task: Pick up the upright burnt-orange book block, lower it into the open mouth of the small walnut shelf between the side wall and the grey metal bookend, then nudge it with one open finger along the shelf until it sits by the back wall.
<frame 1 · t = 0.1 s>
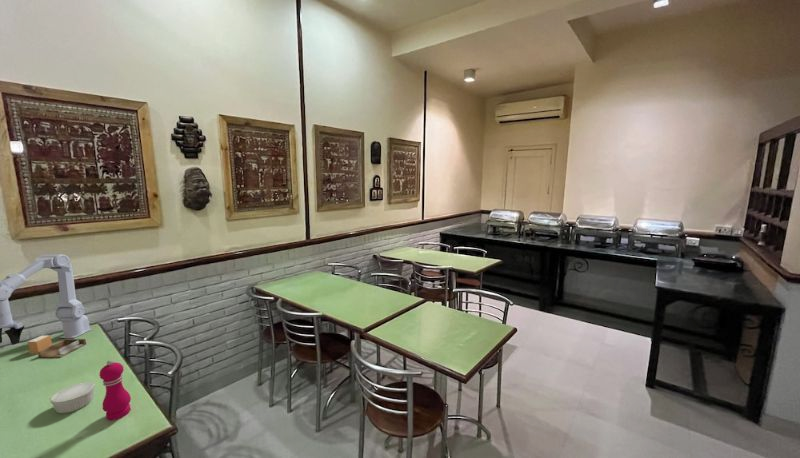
hand: (7, 343, 138), 10 cm above the table, fingers open, 7 cm apart
book: (41, 350, 152), on the table
ramekin: (75, 405, 115), on the table
pepper mill: (119, 414, 110), on the table
shelf: (63, 350, 151), on the table
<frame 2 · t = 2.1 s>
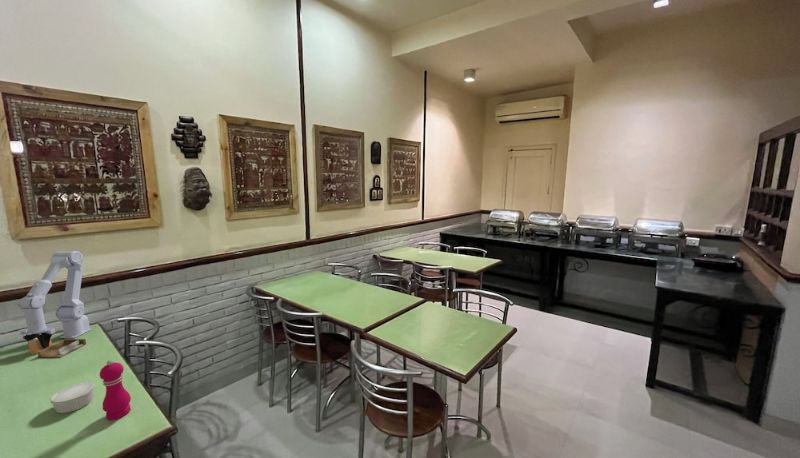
hand: (41, 347, 151), 1 cm above the table, fingers closed on book, 4 cm apart
book: (41, 350, 152), on the table, touching gripper
everything else where it was.
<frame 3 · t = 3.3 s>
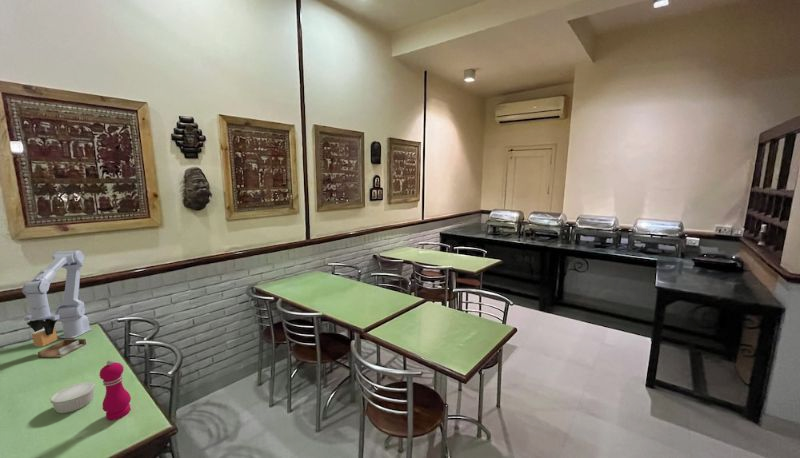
hand: (45, 334, 149), 9 cm above the table, fingers closed on book, 4 cm apart
book: (46, 342, 149), point 5 cm above the table, touching gripper
everything else where it was.
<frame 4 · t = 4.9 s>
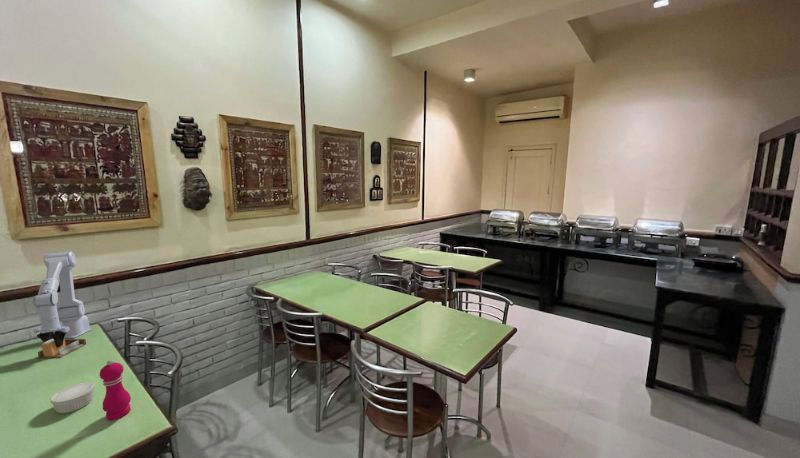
hand: (54, 346, 148), 4 cm above the table, fingers closed on book, 4 cm apart
book: (55, 352, 148), point 1 cm above the table, touching gripper, shelf
everything else where it was.
when the fingers open (4 cm above the table, at t = 5.1 s): book stays where it is, resting on shelf.
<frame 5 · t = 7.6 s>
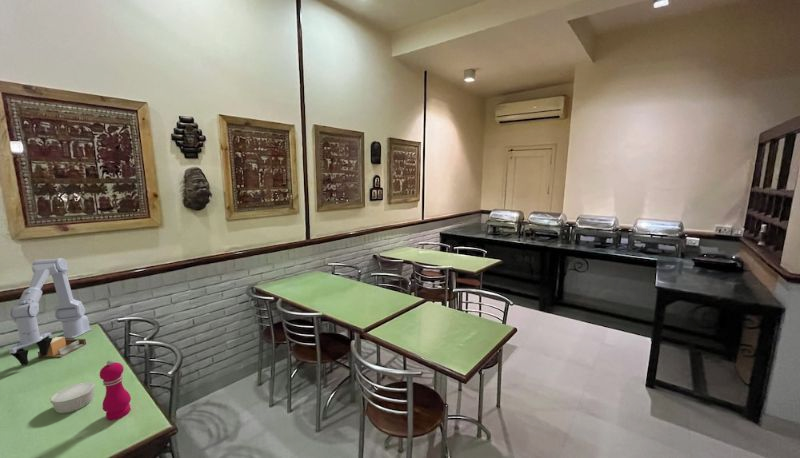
hand: (34, 359, 140), 2 cm above the table, fingers open, 7 cm apart
book: (56, 352, 149), point 1 cm above the table, touching gripper, shelf
everything else where it was.
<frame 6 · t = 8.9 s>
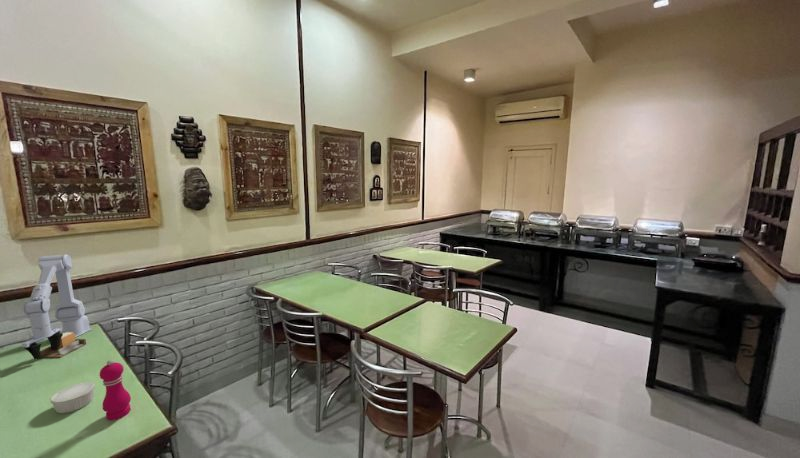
hand: (46, 354, 145), 2 cm above the table, fingers open, 7 cm apart
book: (66, 347, 153), point 1 cm above the table, touching gripper, shelf
everything else where it was.
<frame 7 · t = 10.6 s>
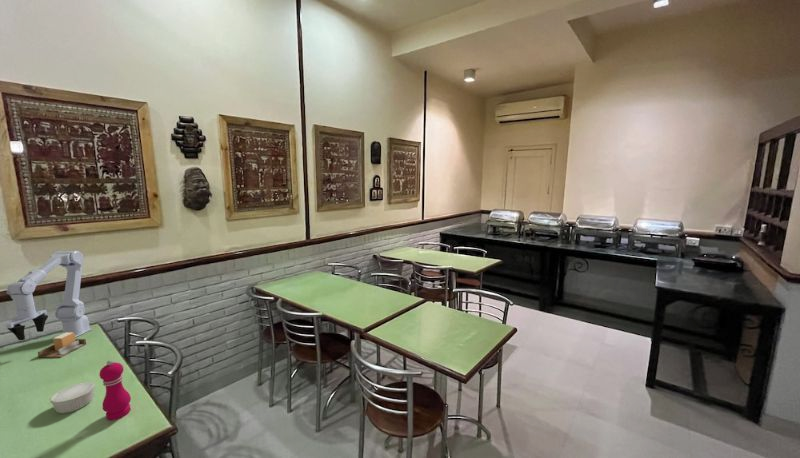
hand: (31, 335, 146), 10 cm above the table, fingers open, 7 cm apart
book: (66, 347, 153), point 1 cm above the table, touching shelf
everything else where it was.
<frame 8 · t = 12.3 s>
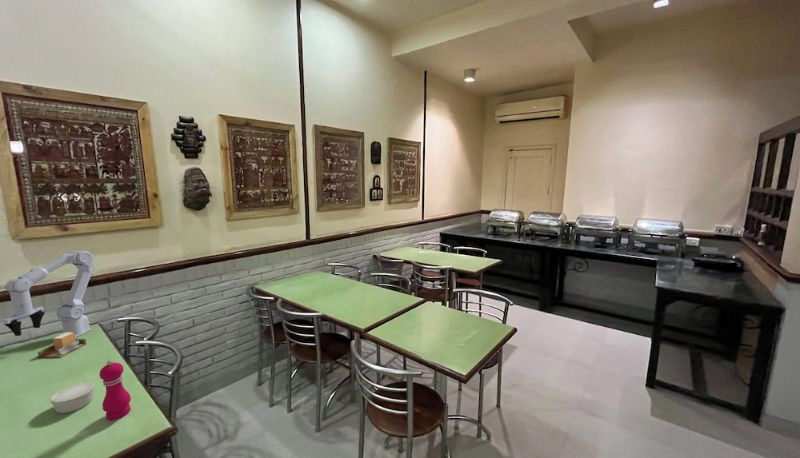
hand: (27, 331, 150), 10 cm above the table, fingers open, 7 cm apart
nothing on the table moved.
at the end: book 0.5 cm from the target spot on the shelf, point 0.6 cm above the shelf's base; book tilted 0°; the gripper is holding nothing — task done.
